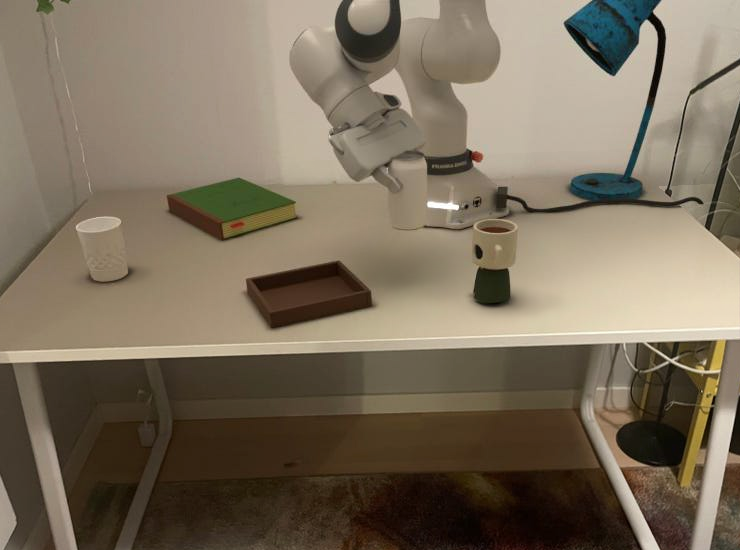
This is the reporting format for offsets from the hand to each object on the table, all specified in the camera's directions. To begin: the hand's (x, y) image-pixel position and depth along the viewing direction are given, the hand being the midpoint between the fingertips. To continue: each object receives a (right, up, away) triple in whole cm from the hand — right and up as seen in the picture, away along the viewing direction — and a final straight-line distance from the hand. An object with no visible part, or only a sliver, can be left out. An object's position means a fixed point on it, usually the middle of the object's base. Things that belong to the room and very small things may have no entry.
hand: (410, 184), depth 125 cm
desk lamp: (+46, +10, +48) cm, 67 cm away
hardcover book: (-37, +3, +42) cm, 56 cm away
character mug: (+14, -19, +2) cm, 24 cm away
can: (0, -6, +4) cm, 7 cm away
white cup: (-56, -13, +16) cm, 59 cm away
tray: (-17, -19, +4) cm, 26 cm away
